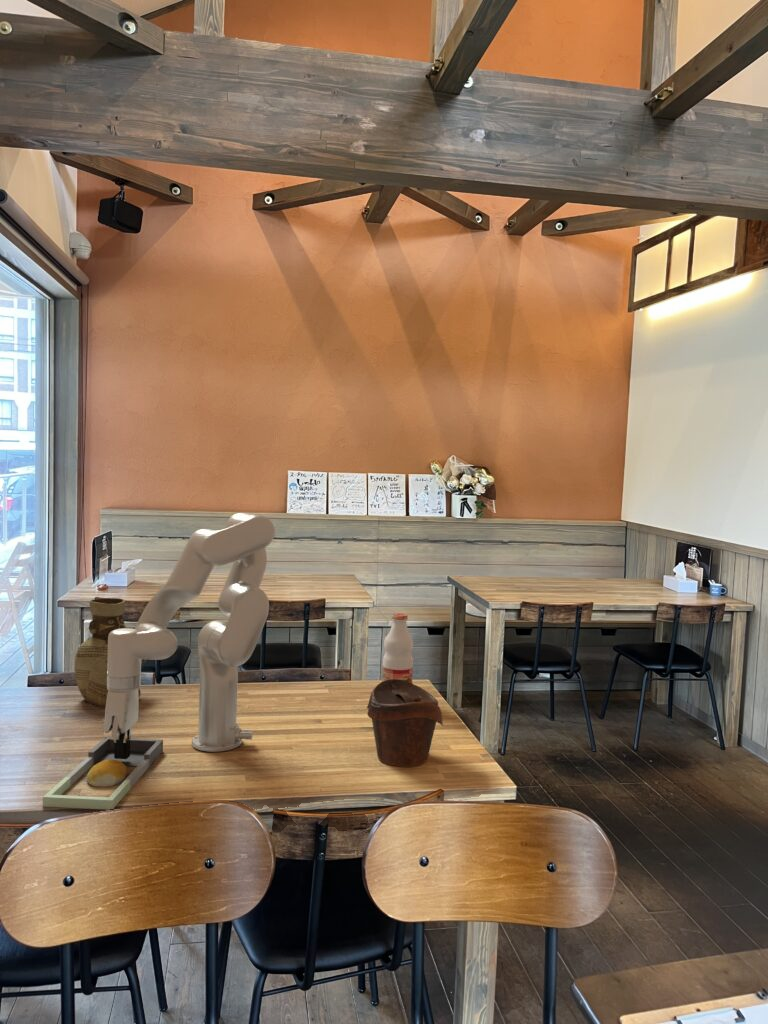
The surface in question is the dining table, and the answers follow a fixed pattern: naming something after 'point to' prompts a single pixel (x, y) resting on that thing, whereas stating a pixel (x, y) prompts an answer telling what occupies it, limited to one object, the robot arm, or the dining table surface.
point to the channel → (140, 757)
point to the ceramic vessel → (98, 650)
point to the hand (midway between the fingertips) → (122, 757)
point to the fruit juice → (398, 651)
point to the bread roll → (107, 773)
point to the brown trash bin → (403, 722)
